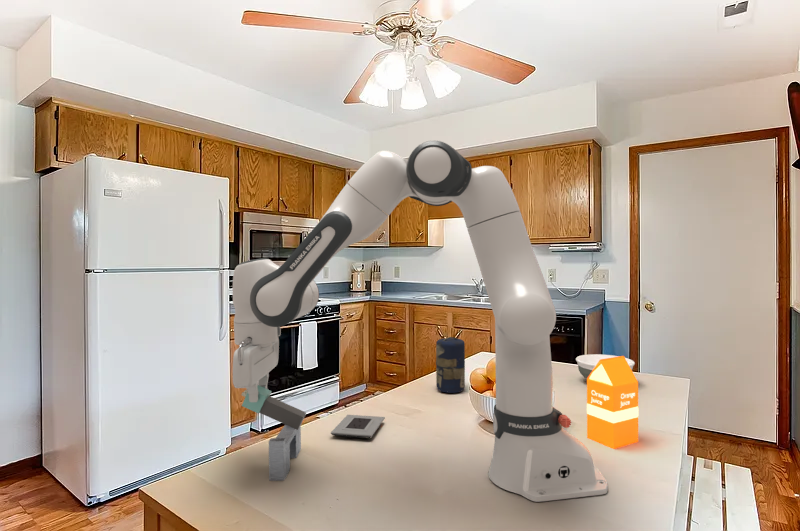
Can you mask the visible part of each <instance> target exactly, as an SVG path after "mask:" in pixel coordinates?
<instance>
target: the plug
mask: <svg viewBox="0 0 800 531" xmlns="http://www.w3.org/2000/svg"><path fill="white" fill-rule="evenodd" d="M257 388H258V392H259V394H260V395H259V397H260V399H259V400H258V401H257V402H250V401H249V394H248V391H247V389H245V390H244V391H242V392H241V394H240V395H241V396H242V397H244V400H243V401H242V404H241V407H244V408H245V409H248V410H250V411H252V412H254V413H257V414H261V415H263V416H266V417H268V418H270V419H272V420H275V421H277V422H279V423H281V424H283V425H284V426H285V425H288V426H290V427H292V428H294V429H297V430H298V429H299V427H300V426H302V423H303V421H304V419H305V417H306V415H307V412H306V411H303V410H301V409H299V408H297V407H295V406H293V405H290V404H288V403H286V402H284V401H281V400H279V399H277V398H275V397H272V396H271V394H272V392H273V391H272V390H269V388H267V389H266V388H264V387H261V386H259V385H258V386H257Z"/></svg>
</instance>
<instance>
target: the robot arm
mask: <svg viewBox="0 0 800 531" xmlns="http://www.w3.org/2000/svg"><path fill="white" fill-rule="evenodd" d="M406 198H410V199H413V200H415V201H419V202H421V203H424V204H426V205H428V206H433V207H442V206H446V205H449V204H450V203H452V202H453V203H454V204H455V205H457V207H458V209H459V210H460V212H461V214H462V216H463V220H464V223H465V227H466V229H467V232H468V235H469V239H470V241H471V244H472V248H473V251H474V253H475V257H476V258H475V259H476V261H477V264H478V267H479V270H480V273H481V277H482V280H483V283H484V286H485V290H486V291H485V292H486V293H487V296H488V300H489V304H490V306H491V310H492V313H493V316H494V321H495V322H494V330H495V331H494V333H495V337H494V338H495V339H494V341H495V345H494V346H495V404H494V406H493V413H492V415H493V416H492V418H493V420H492V421H493V422H492V423H493V424H492V425H493V426H492V428H493V434H494V443H493V451H492V452H493V453H492V456H491V457H492V458H491V462H490V465H489V470H488V472H487V475H488V478H489V480H490V481H491V482H492V483H493V484H494V485H496V486H497V487H498V488H501V489H502V490H506V491H507V492H511V493H515V494H516V495H517V494H518V495H520V496H523V497H524V498H526V499H528V500H530V501H532V502H537V503H538V502H539V503H541V502H548V501H556V500H557V501H558V500H565V499H576V498H583V497H591V496H602V495H605V494H607V493H608V490H609V488H608V487H609V486H608V481H607V478H606V477H605V476H604V474H603V473H602V472H601V471H600V470H599V469H598V468H597V467H596V466H595V463H594V460H593V457H592V454H591V452H590V450H589V449H588V448H587V446H585V444H584V443H583V442H581V440H579V439H578V438H577V437H576V436H575V435H573V434H572V433H570V432H569V431H568V430H566V429H565V428H570V426H571V425H572V420H571V419H570V417H569V416H567V415H566V414H563V413H562V412H561V411H560V410H559V409H556V408H555V407H554V406H553V404H554V402H553V400H554V398H553V394H554V392H553V390H554V389H553V387H554V386H553V384H554V382H553V380H554V378H553V365H552V352H551V341H550V337H551V336H550V335H551V334H552V332H553V330H554V327H556V326H555V325H556V322H557V311H556V308H555V304H554V301H553V300H552V296H551V294H550V290H549V288H548V286H547V282H546V280H545V277H544V275H543V273H542V270H541V267H540V264H539V262H538V259H537V257H536V254H535V252H534V249H533V246H532V242H531V239H530V237H529V233H528V231H527V227H526V224H525V221H524V219H523V215H522V213H521V209H520V206H519V203H518V201H517V198H516V196H515V194H514V192H513V189H512V187H511V185H510V183H509V182H508V180H507V178H506V176H505V174H504V173H503V171H502V170H501V169H500V168H498V167H496V166H493V165H482V166H478V167H472V164H471V163H470V161H468V159H466V157H464V156H462V154H461V153H459V152H458V151H457V150H456V149H455V148H454V147H452V146H451V145H450V144H448V143H446V142H444V141H441V140H428V141H424V142H422V143H421V144H418V145H417V146H416V147H415V148H414V149H413V150H412V152H411V153H410V155H409V157H408V159H406V158H403V157H402V156H401V155H400V154H398V153H396V152H393V151H391V150H378V151H376V152H375V153H374V154H373V155H372V156H371V157H370V158H368V160H366V162H364V163H363V164H362V165H361V166H360V167H359V169H358V170H356V171H355V173H354V174H353V175H352V176H351V177H350V179H349V180H348V181H347V183H346V184H345V186H343V188H342V189H341V191H340V192H339V194H337V196H336V197H335V199H334V200H333V201H332V202H331V205H330V206H329V208H328V209H327V211H326V212H325V213H324V214H323V216H322V217H321V218H320V220H319V221H318V222H317V224H316V225H315V226H314V227H313V229H312V230H310V232H309V233H308V234H307V235H306V237H305V238H304V239H303V240H302V241H301V243H300V244H299V245H297V247H296V248H295V250H294V251H293V252H292V253H291V254H290V255H289V257H288V258H287V259H286V260H285V261H284V262H283V263H282V264H281V266H280V265H278V264H276V263H275V262H273V261H272V259H269V258H256V259H250V260H249V259H248V260H246V261H242V262H240V263H238V264H237V265H236V267H235V268H234V270H233V276H232V304H233V306H234V311H235V312H234V318H233V333H234V334H233V335H234V337H233V339H234V344H235V345H237V346H238V348H236V350H234V352H233V357H232V384H233V387H234V388H235V389H245V390H247V391H248V394H249V401H250V402H257V401H258V400H259V399H260V397H259V395H260V394H259V392H258V388H257V386H258V385H259V386H261V387H264V388H266V389H268V383H269V377H270V374H269V373H270V372H271V371H272V370H273V369H275V367H277V366H278V363H279V355H280V354H279V353H280V350H279V349H280V347H279V346H280V339H279V337H281V335H282V334H281V333H282V332H281V330H282V329H281V327H283V326H286V325H287V324H289V323H291V322H292V321H294V320H296V319H299V318H301V317H303V316H306V315H307V314H309V313H311V311H314V309H315V308H316V307H317V305H318V302H319V300H320V291H319V290H320V289H319V286H318V285H317V282H316V281H315V280H314V279H316V277H317V276H318V275H319V274H320V272H321V271H322V270H323V269H324V268H325V267H326V266H327V265H328V263H329V262H330V260H331V259H332V258H334V256H336V255H337V254H339V252H340V251H342V250H344V249H345V248H347V247H349V246H351V245H354V244H356V243H359V242H362V241H364V240H367V239H368V238H369V237H371V235H372V234H373V233H374V232H376V231H377V230H378V229H379V228H380V227H381V226H382V225H383V224H384V223H385V221H386V220H387V219H388V218H389V216H390V215H391V214H392V212H393V211H394V210H395V209H396V208H397V206H398V205H399V204H400V203H401V202H402V201H403V200H405V199H406Z"/></svg>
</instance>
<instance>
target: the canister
mask: <svg viewBox="0 0 800 531" xmlns="http://www.w3.org/2000/svg"><path fill="white" fill-rule="evenodd" d="M465 344H466V343H465V341H464V340H463V339H460V338H458V337H454V336H449V337H446V338H440V339H438V340H437V341H436V344H435V350H436V351H435V353H436V356H435V357H436V358H435V359H436V360H435V365H436V373H435V376H436V378H435V379H436V380H435V383H436V389H437V390H438V391H440V392H441V393H442V392H443V393H448V394H450V393H451V394H452V393H453V394H456V393H461V392H463V391H464V390H465V388H466V387H465V386H466V385H465V384H466V382H465V380H466V378H465V377H466V376H465V375H466V374H465V372H466V371H465V370H466V369H465V368H466V367H465V366H466V364H465V363H466V362H465V361H466V358H465V357H466V356H465V355H466V354H465V353H466V352H465V351H466V350H465V349H466V348H465V347H466V345H465Z"/></svg>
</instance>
